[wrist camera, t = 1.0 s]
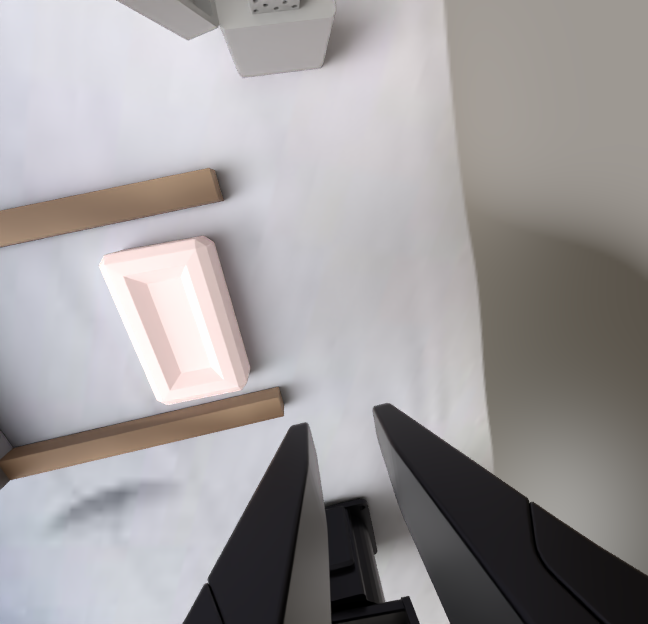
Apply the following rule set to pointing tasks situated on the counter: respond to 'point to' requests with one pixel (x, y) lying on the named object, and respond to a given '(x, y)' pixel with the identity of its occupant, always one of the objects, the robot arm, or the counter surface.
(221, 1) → the lighter
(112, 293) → the soap bar
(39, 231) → the guide channel
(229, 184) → the counter surface
